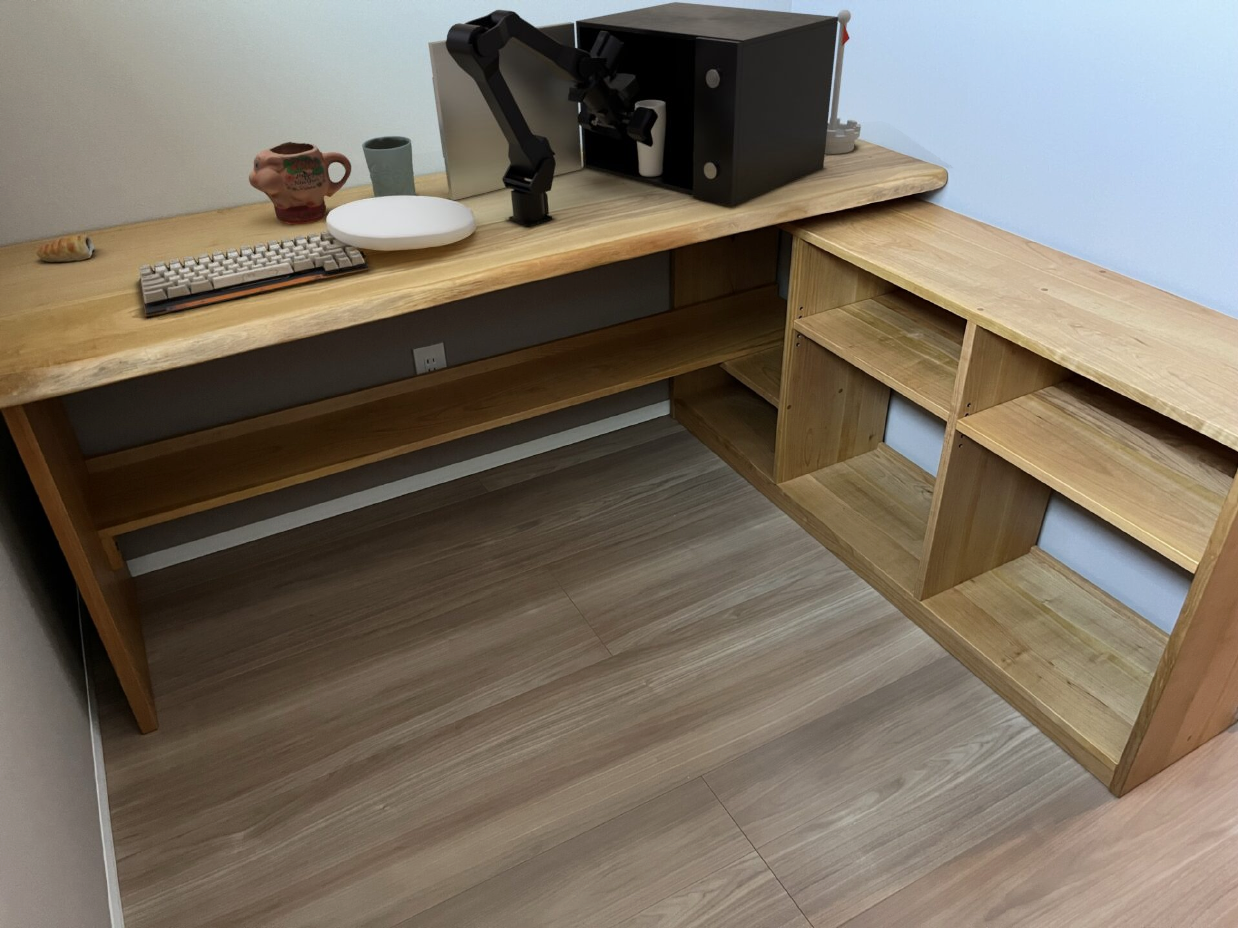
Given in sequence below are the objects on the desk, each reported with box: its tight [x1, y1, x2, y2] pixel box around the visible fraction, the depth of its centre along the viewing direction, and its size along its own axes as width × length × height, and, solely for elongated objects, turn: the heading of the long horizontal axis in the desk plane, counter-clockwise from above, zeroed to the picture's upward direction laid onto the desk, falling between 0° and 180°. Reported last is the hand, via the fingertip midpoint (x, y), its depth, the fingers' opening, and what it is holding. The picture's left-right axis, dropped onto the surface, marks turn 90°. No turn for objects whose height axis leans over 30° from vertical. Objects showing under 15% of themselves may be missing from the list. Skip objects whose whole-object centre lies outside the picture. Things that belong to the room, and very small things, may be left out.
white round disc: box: [325, 195, 477, 252], centre depth 169 cm, size 28×6×27 cm
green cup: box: [361, 135, 417, 198], centre depth 189 cm, size 10×10×12 cm
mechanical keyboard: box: [138, 229, 370, 318], centre depth 158 cm, size 38×19×3 cm, turn 118°
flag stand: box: [825, 9, 862, 155], centre depth 207 cm, size 13×13×30 cm
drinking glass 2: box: [635, 100, 666, 177], centre depth 194 cm, size 7×7×15 cm
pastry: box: [35, 233, 95, 263], centre depth 168 cm, size 9×7×4 cm
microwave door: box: [427, 21, 583, 201], centre depth 192 cm, size 7×34×31 cm, turn 127°
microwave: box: [575, 1, 839, 208], centre depth 195 cm, size 35×44×31 cm
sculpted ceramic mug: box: [248, 141, 352, 225], centre depth 181 cm, size 20×12×14 cm, turn 117°
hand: (635, 141), depth 193 cm, fingers open, 9 cm apart
